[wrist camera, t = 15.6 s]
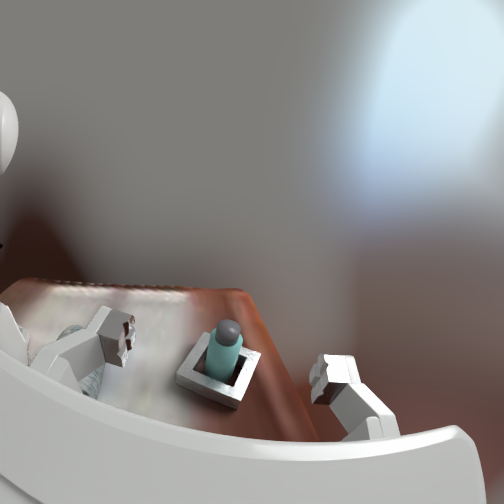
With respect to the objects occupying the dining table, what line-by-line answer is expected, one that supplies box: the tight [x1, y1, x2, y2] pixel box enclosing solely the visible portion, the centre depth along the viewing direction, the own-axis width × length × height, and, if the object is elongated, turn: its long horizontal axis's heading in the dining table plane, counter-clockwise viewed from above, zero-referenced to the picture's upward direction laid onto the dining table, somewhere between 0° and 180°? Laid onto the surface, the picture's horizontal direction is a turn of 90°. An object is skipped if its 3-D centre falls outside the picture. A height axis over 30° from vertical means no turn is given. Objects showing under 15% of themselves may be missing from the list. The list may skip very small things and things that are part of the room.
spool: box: [56, 325, 105, 400], centre depth 29 cm, size 14×10×10 cm
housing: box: [176, 332, 260, 410], centre depth 40 cm, size 10×10×3 cm
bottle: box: [204, 320, 243, 384], centre depth 38 cm, size 4×4×11 cm
